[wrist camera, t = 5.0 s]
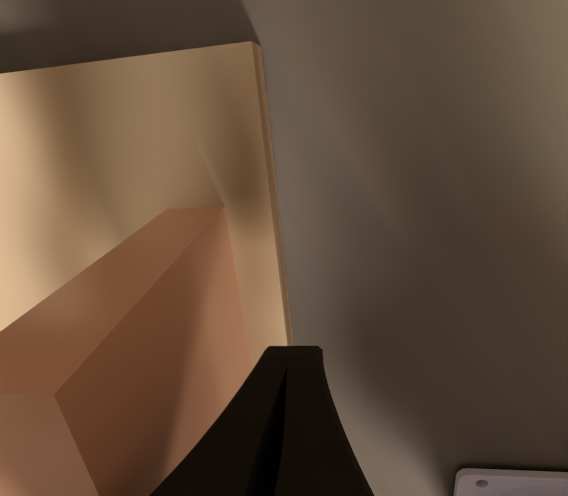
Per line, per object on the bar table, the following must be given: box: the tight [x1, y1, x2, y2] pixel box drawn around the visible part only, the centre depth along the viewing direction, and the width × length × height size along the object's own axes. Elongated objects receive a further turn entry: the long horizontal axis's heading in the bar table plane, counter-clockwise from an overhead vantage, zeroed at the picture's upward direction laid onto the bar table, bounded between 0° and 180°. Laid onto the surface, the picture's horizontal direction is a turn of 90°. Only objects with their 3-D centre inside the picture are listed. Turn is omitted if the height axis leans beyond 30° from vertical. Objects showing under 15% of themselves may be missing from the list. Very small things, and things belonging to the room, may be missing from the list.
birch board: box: [0, 41, 294, 370], centre depth 15 cm, size 14×16×2 cm
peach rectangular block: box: [0, 206, 252, 496], centre depth 10 cm, size 2×7×8 cm, turn 6°
